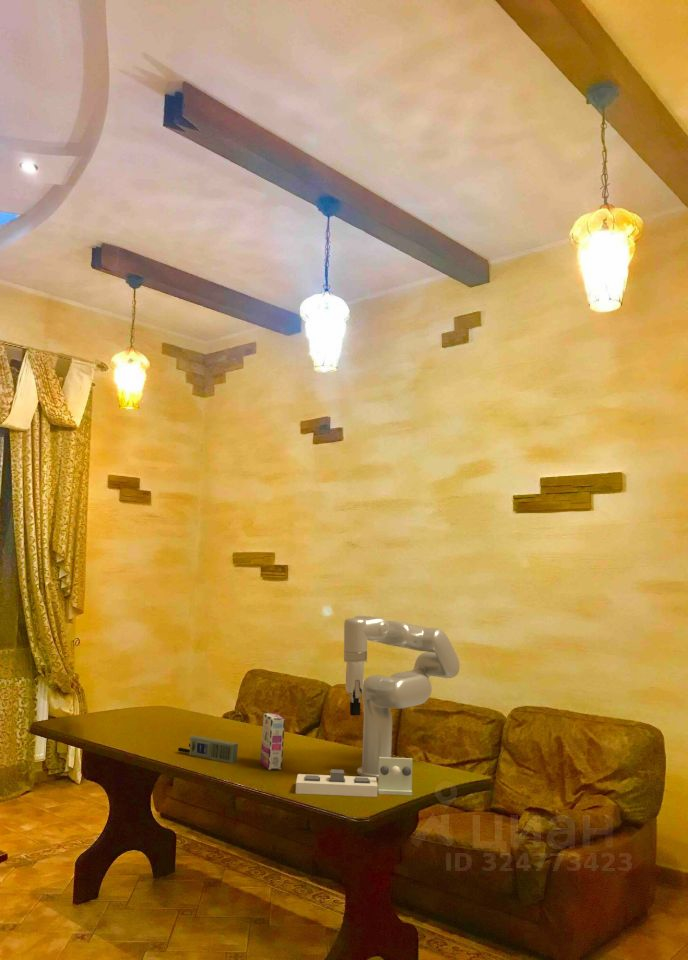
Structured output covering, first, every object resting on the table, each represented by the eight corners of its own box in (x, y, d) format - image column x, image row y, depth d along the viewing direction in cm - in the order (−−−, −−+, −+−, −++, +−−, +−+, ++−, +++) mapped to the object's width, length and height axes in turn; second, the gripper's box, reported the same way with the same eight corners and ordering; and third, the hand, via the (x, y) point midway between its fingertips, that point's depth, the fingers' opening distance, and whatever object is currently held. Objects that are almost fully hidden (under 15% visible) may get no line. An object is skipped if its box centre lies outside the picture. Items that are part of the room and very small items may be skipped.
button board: (375, 787, 220) (375, 777, 220) (377, 796, 210) (377, 786, 210) (297, 784, 220) (298, 774, 220) (295, 793, 210) (296, 782, 210)
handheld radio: (231, 764, 241) (175, 753, 253) (237, 763, 244) (181, 752, 256) (233, 744, 242) (177, 734, 255) (239, 742, 245) (183, 733, 257)
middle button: (343, 781, 217) (343, 769, 218) (343, 784, 213) (343, 773, 214) (330, 780, 217) (330, 769, 218) (330, 784, 213) (330, 772, 214)
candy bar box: (282, 770, 236) (285, 718, 239) (268, 770, 235) (271, 718, 237) (274, 762, 247) (276, 712, 249) (259, 762, 245) (262, 712, 247)
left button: (318, 787, 217) (318, 775, 217) (318, 790, 213) (318, 779, 213) (305, 786, 217) (305, 775, 217) (304, 790, 213) (305, 778, 213)
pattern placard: (410, 791, 217) (411, 757, 218) (412, 795, 213) (412, 760, 215) (377, 790, 217) (378, 756, 218) (378, 793, 213) (379, 758, 215)
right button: (367, 789, 217) (368, 777, 217) (368, 792, 213) (368, 781, 213) (354, 788, 217) (355, 777, 217) (354, 792, 213) (355, 780, 213)
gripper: (341, 654, 240) (341, 710, 238) (346, 659, 226) (346, 720, 223) (363, 653, 241) (363, 710, 239) (370, 659, 226) (370, 719, 224)
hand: (355, 714), depth 231 cm, fingers closed
